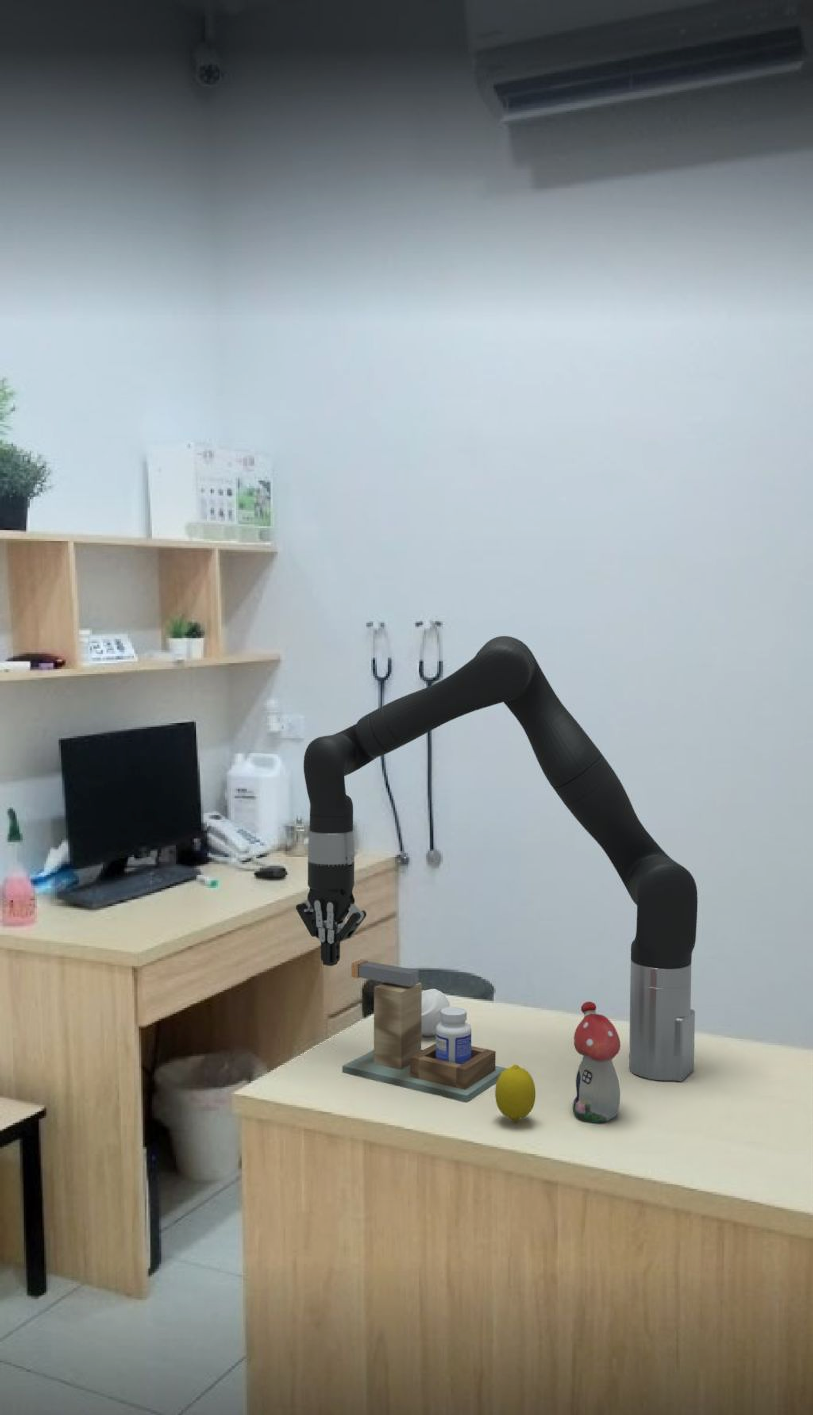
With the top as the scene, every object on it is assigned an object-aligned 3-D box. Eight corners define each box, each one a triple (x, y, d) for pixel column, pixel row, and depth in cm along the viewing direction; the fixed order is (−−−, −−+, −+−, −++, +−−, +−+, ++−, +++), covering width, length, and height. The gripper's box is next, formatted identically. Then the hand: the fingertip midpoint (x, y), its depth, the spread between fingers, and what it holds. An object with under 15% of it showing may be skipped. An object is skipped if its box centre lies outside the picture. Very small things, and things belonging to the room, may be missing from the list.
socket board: (507, 1074, 176) (508, 991, 175) (466, 1102, 165) (467, 1013, 164) (388, 1048, 187) (388, 969, 187) (342, 1072, 176) (342, 988, 176)
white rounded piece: (401, 1028, 197) (401, 984, 197) (443, 1025, 199) (443, 982, 199) (412, 1044, 190) (412, 998, 189) (456, 1040, 191) (456, 995, 191)
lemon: (540, 1118, 159) (540, 1061, 159) (527, 1132, 154) (528, 1074, 154) (503, 1111, 162) (503, 1055, 161) (489, 1125, 157) (489, 1068, 156)
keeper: (419, 983, 178) (419, 969, 178) (409, 987, 175) (409, 973, 175) (361, 972, 184) (361, 959, 183) (351, 976, 181) (351, 963, 181)
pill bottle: (472, 1067, 176) (472, 1005, 175) (470, 1080, 170) (471, 1016, 170) (436, 1066, 176) (437, 1004, 176) (434, 1079, 171) (434, 1014, 171)
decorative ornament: (572, 1098, 166) (573, 997, 166) (617, 1101, 165) (619, 999, 165) (573, 1124, 157) (574, 1016, 156) (621, 1127, 156) (622, 1019, 156)
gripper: (284, 857, 185) (283, 963, 185) (351, 866, 178) (350, 976, 178) (312, 851, 191) (311, 953, 192) (378, 859, 184) (377, 965, 185)
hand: (330, 964), depth 185 cm, fingers closed
